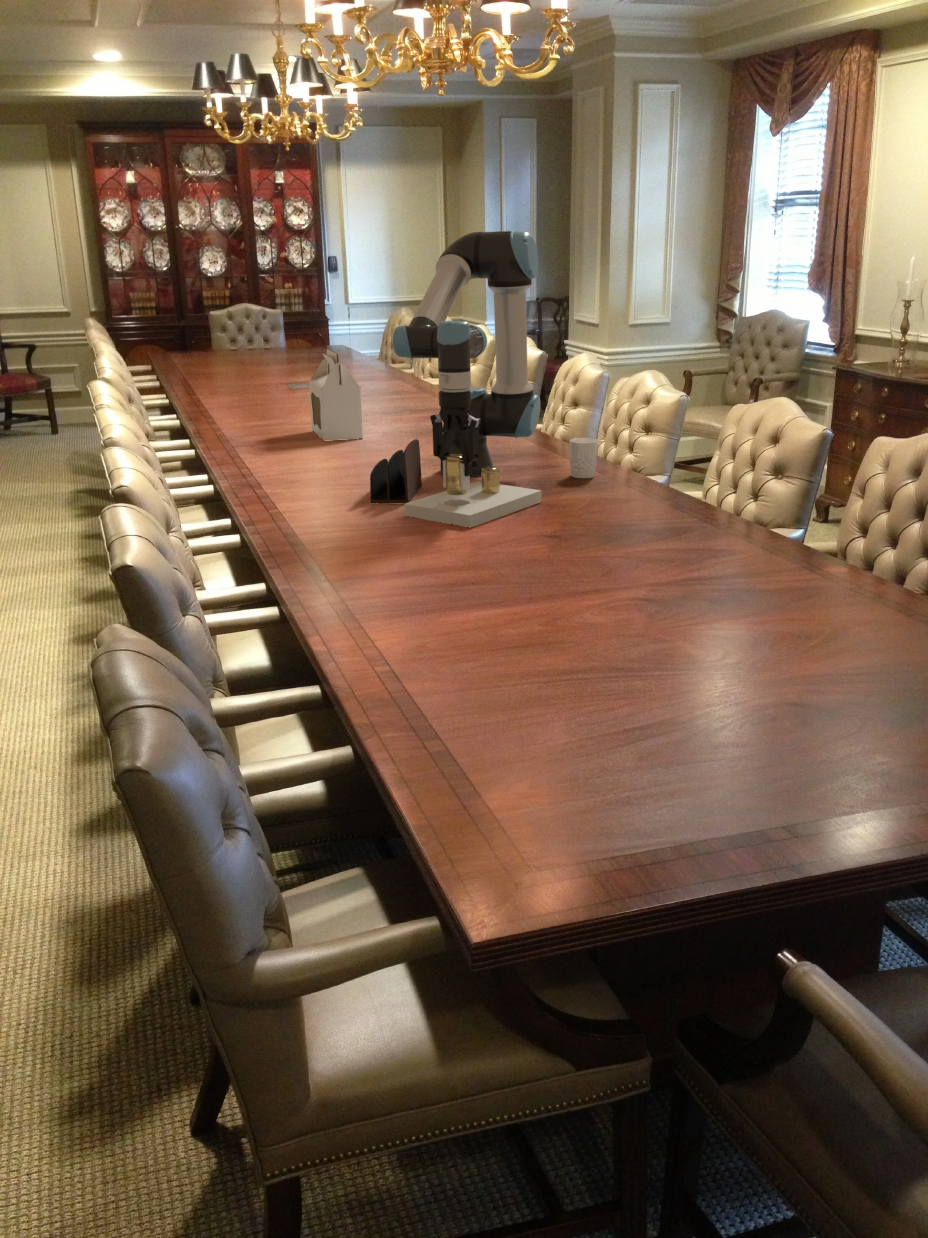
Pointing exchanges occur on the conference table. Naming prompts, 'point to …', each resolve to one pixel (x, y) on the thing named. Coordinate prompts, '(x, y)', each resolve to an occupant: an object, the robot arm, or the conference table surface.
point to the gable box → (335, 401)
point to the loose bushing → (454, 474)
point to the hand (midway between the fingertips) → (456, 487)
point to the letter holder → (397, 476)
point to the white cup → (583, 457)
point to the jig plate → (472, 505)
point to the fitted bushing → (490, 479)
